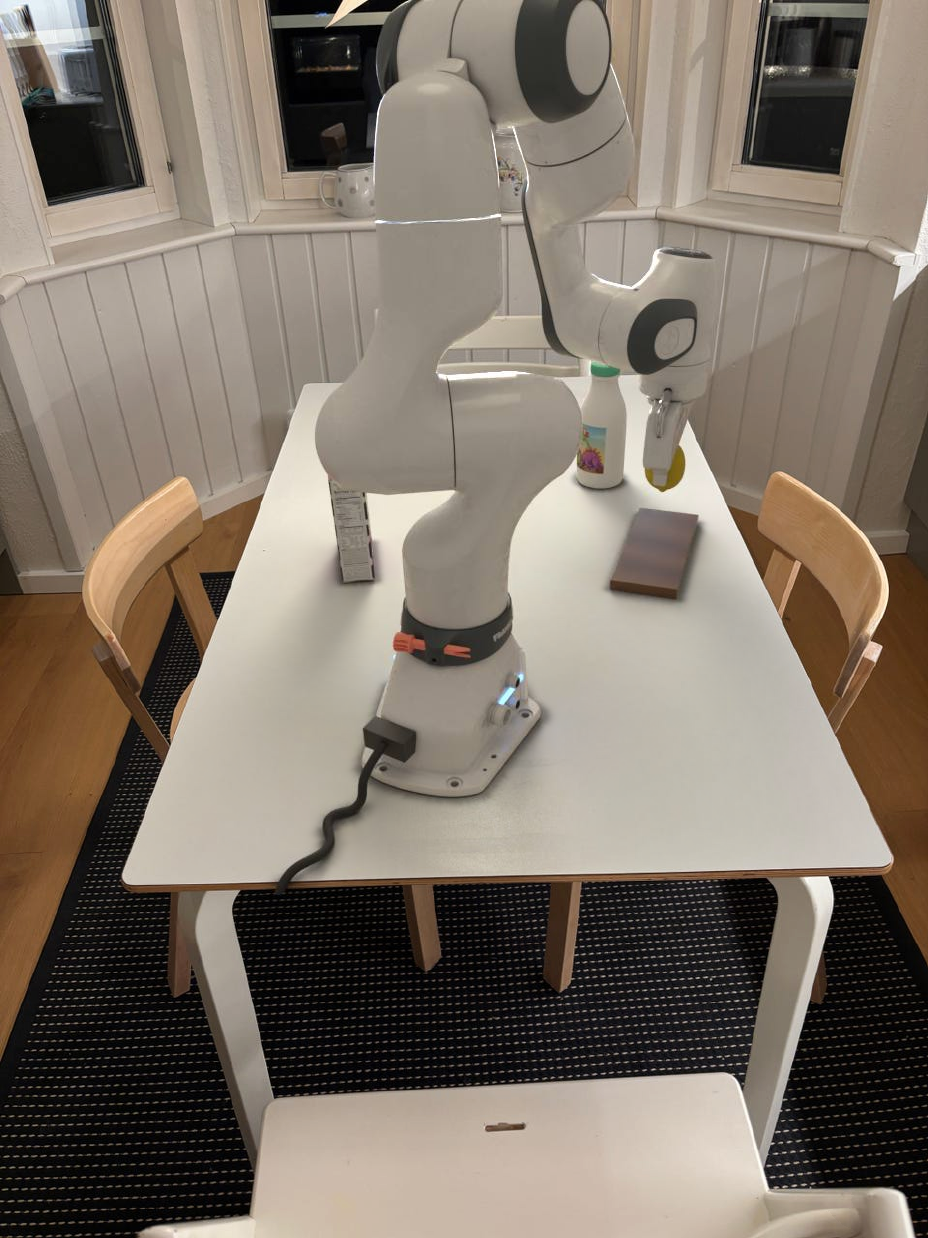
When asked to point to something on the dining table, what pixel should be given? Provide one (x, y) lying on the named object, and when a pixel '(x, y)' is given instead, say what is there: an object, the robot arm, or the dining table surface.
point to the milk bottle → (602, 430)
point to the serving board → (655, 553)
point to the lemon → (670, 472)
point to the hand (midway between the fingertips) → (663, 472)
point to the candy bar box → (352, 533)
